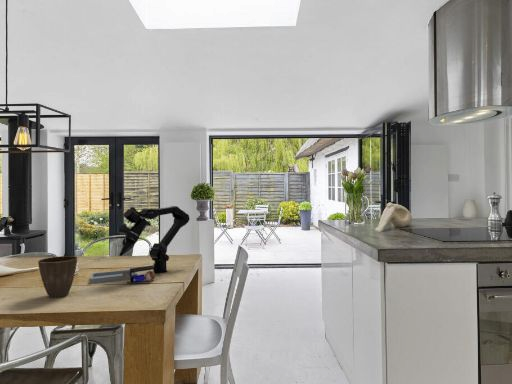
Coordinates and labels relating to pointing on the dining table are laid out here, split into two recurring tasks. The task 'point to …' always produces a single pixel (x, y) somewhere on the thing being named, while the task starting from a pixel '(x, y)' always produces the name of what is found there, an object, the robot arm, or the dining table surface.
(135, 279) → the figurine character
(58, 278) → the plant pot
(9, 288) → the dining table surface
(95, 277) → the cradle
